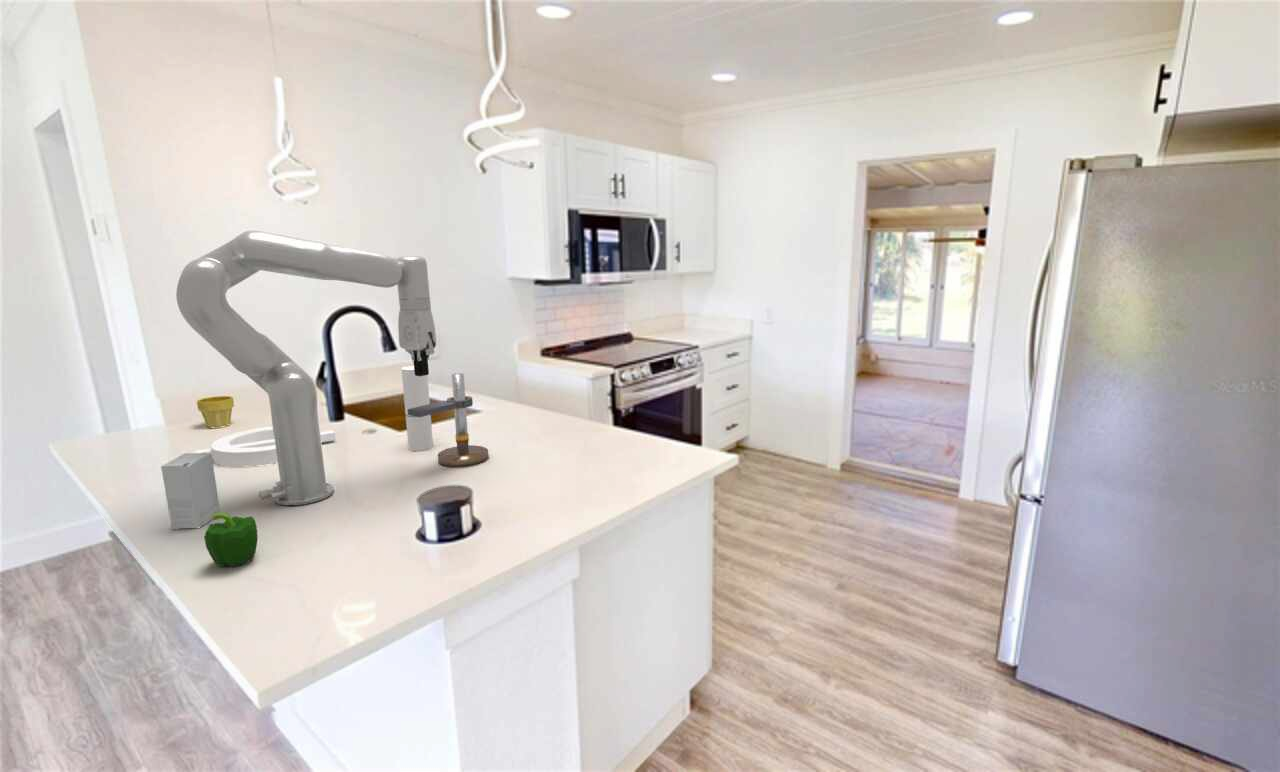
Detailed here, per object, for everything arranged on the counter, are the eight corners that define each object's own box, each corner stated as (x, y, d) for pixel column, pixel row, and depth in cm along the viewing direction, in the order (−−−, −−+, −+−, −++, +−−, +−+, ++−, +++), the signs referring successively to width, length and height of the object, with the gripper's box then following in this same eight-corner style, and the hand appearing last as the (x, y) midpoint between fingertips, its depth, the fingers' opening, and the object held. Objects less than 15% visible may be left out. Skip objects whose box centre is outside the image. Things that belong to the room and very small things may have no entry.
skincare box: (194, 514, 136) (184, 452, 133) (222, 513, 137) (212, 451, 134) (170, 531, 128) (158, 464, 125) (200, 529, 129) (189, 463, 126)
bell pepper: (271, 551, 119) (265, 504, 117) (243, 572, 111) (235, 522, 109) (230, 550, 119) (223, 503, 117) (199, 571, 111) (190, 521, 109)
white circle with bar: (188, 465, 170) (186, 449, 169) (265, 437, 197) (263, 423, 196) (275, 471, 165) (272, 454, 164) (341, 441, 192) (340, 427, 191)
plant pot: (235, 420, 217) (231, 394, 215) (238, 426, 209) (234, 399, 207) (200, 425, 211) (195, 398, 209) (201, 431, 203) (197, 403, 201)
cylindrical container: (437, 444, 187) (430, 365, 182) (426, 451, 180) (420, 370, 175) (415, 443, 188) (408, 365, 183) (404, 450, 181) (396, 369, 176)
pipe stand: (459, 470, 164) (453, 381, 158) (427, 461, 171) (420, 375, 166) (498, 457, 175) (493, 373, 170) (467, 448, 183) (461, 368, 178)
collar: (421, 418, 156) (421, 411, 155) (406, 415, 160) (405, 407, 159) (477, 404, 171) (476, 397, 170) (461, 401, 174) (461, 395, 174)
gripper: (385, 305, 155) (392, 374, 159) (420, 307, 147) (427, 380, 151) (410, 303, 161) (416, 370, 165) (445, 305, 153) (451, 375, 157)
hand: (421, 375), depth 158 cm, fingers closed
